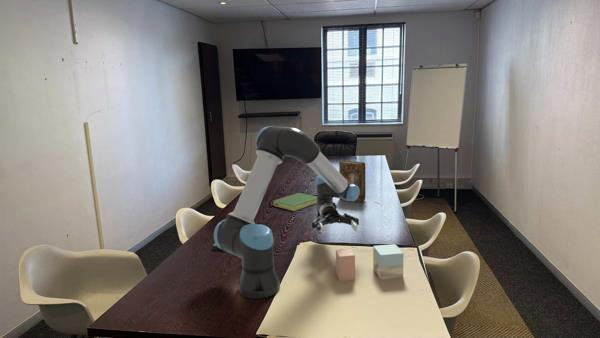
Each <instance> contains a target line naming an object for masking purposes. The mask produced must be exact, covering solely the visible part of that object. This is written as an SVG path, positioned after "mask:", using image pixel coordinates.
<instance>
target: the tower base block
mask: <svg viewBox="0 0 600 338" xmlns="http://www.w3.org/2000/svg"><path fill="white" fill-rule="evenodd" d="M372 262H373V263H372V264H373V265H372V270H373V269H374V270H373V271H374V272H375V274H376V275H377V277H378V278H379V280H391V279H399V278H400V279H401V278H404V265H403V266H391V267H380V266H379V265H378V263H377V262H376V261H375V259H374V258H372Z"/></svg>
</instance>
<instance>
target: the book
mask: <svg viewBox="0 0 600 338" xmlns="http://www.w3.org/2000/svg"><path fill="white" fill-rule="evenodd" d="M338 166H339V169H338V171H339V172H340V174H341V175H342V176H343V177H344V178H345V179H346V180H347V181H348V182H349V183H350V184H354V185H357V186H358V187H359V190H360V193H359V196H358V198H357V199H356V200H355V201H349V200H348V201H347V200H344V199H340V198H339V200H340V201H344V202H353V203H362V202H364V201H365V200H366V162H363V161H351V160H340V161H339V164H338Z"/></svg>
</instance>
